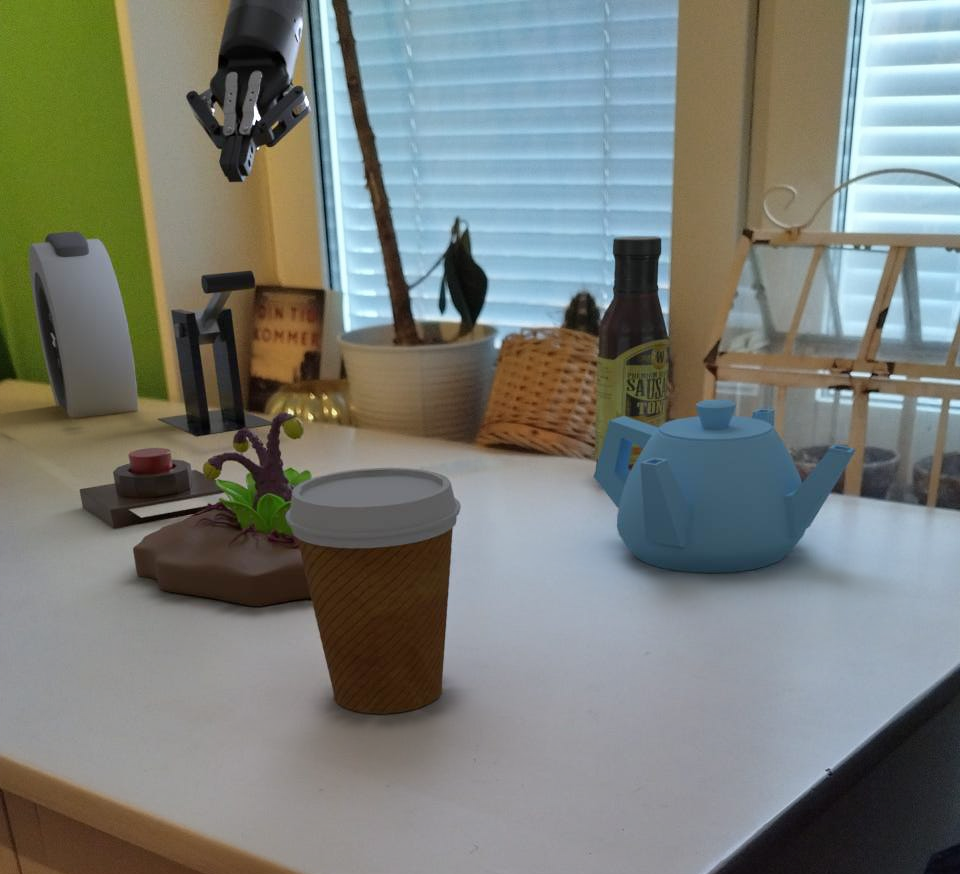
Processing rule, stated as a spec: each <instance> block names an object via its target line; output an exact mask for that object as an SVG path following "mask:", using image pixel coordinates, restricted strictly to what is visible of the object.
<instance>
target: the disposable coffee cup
mask: <svg viewBox="0 0 960 874" xmlns="http://www.w3.org/2000/svg"><path fill="white" fill-rule="evenodd" d="M461 507H462V505H461V503H460V501H459V499H457V498H456V497H455V495H454V490H453V485H452V482H451V480H450V479H449V478H448V477H447V476H445V475H443V474H442V473H439V472H435V471H430V470H427V469H421V468H409V467H408V468H406V467H370V468H359V469H358V468H357V469H350V470H349V469H348V470H342V471H336V472H332V473H327V474H323V475H319V476H314V477H311V479H309V480H306V481H304V482H302V483H300V484H298V485H297V486H296V487H295V488H294V489H293V490H292V497H291V507H290V509H289V510H288V511H287V513H286V516H285V517H286V521H287V523H288V524H289V525H290V526H291V528H292V532H293V534H294V536H295V537H297V540H298V544H299V548H300V553H301V557H302V562H303V566H304V569H305V574H306V578H307V583H308V587H309V590H310V596H311V598H310V599H311V603H312V608H313V611H314V612H313V613H314V616H315V621H316V625H317V629H318V633H319V637H320V640H321V647H322V650H323V654H324V658H325V663H326V667H327V671H328V675H329V679H330V683H331V687H332V692H333V697H334V700H335V702H336V703H337V704H338V705H340V706H341V707H343V708H346V709H347V710H350V711H353V712H354V711H355V712H359V713H365V714H379V715H380V714H384V715H385V714H393V713H395V714H396V713H403V712H407V711H411V710H416V709H419V708H421V707H424V706H426V705H429V704H431V703H432V702H434V701H435V700H437V699H438V698H439V697H440V695H441V694H442V691H443V677H444V661H445V660H444V659H445V647H446V632H447V620H448V605H449V604H448V602H449V589H450V575H451V563H452V562H451V561H452V545H453V530H454V527H455V526H456V523H457V519H458V517H457V516H459V514H460V511H461Z"/></svg>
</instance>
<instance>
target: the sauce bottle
mask: <svg viewBox="0 0 960 874" xmlns="http://www.w3.org/2000/svg"><path fill="white" fill-rule="evenodd" d="M612 241H613V243H612V255H613V258H614V273H613V276H614V280H613V287H612V290H613V298H612V300H611V301H610V302H609V303H610V304H609V305H608V307H607V308H606V310H605V311H604V314H603V316H602V317H601V320H600V325H599V330H598V354H597V356H596V394H595V397H596V398H595V423H594V424H595V426H594V427H595V430H594V458H595V459H596V462H595V463H596V465H595V468H596V467H597V463H598V460H599V456H600V453H601V449H602V446H603V442H604V439H605V435H606V432H607V429H608V425H609V422H610V420H613V419H616V418H619V417H622V416H626V417H629V418H632V419H634V420H637V421H640V422H643V423H646V424H649V425H652V426H655V427H660V426H661V425H662V424H664V423H666V422H667V404H668V388H669V387H668V386H669V363H670V343H671V342H670V341H671V340H670V337H669V334H668V331H667V326H666V322H665V317H664V314H663V309H662V305H661V301H660V297H659V284H658V282H659V262H660V257H661V255H662V238H661V237H660V236H655V235H654V236H650V235H649V236H646V235H645V236H641V235H640V236H618V237H614V238H613V239H612ZM643 449H644V448H642V447H640V446H638V445H636V444H634V443H633V445H632V450H631V455H630V460H629V465H628V469H629V470H630V471H631V470H632V468H633V466H634V464H635V462H636V460H637V459H638V457H639V455H640V454H641V452H642V450H643Z"/></svg>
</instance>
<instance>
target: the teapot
mask: <svg viewBox="0 0 960 874" xmlns="http://www.w3.org/2000/svg"><path fill="white" fill-rule="evenodd" d="M736 406H737V403H736V402H735V401H733V400H730V399H718V398H717V399H716V398H715V399H714V398H713V399H712V398H711V399H705V400H701V401H700V402H697V403H696V404H695V407H696V411H697V415H698V416H690V417H682V418H677V419H672V420H669V421H666V423H664V424H662V425H661V426H660V427H655V426H652V425H649V424H646V423H643V422H640V421H637V420H634V419H632V418H629V417H626V416H622V417H619V418H616V419H613V420H610V422H609V425H608V429H607V432H606V435H605V439H604V442H603V446H602V449H601V453H600V456H599V460H598V463H597V462H596V464H597V467H596V466H595V470H594V474H593V479H595V481H596V482H597V484H598V485H599V486H600V487H601V489H602V490H603V491H604V492H605V493H606V495H607V496H608V497H609V499H610V500H611V501H612V502H613V504H614V505H615V506H616V508H617V509H618V510H617V515H616V529H617V532H618V535H619V537H620V538H621V539H622V541H623V542H624V544H625V545H626V546H627V547H628V549H629V550H630V551H631V552H632V553H633V554H634V556H635V557H636V558H637V559H639V560H640V561H642V562H644V563H646V564H648V565H652V566H654V567H657V568H662V569H665V570H671V571H678V572H685V573H686V572H687V573H700V574H702V573H703V574H721V573H737V572H745V571H750V570H756V569H761V568H765V567H768V566H771V565H773V564H775V563H777V562H779V561H781V560H782V559H783V558H784V557H786V555H788V553H790V551H792V550H793V548H795V547H796V545H797V544H798V543H799V541H800V540H801V539H803V536H804V535H805V533H806V530H807V529H808V528H810V527H811V525H812V523H813V522H814V521H815V518H816V517H817V516H818V514H819V512H820V511H821V509H822V507H823V505H824V504H825V503H826V501H827V499H828V497H829V496H830V494H831V492H832V491H833V489H834V487H835V486H836V484H837V483H838V481H839V479H840V477H841V476H842V475H843V472H844V471H845V469H846V467H847V466H848V464H849V462H850V461H851V460H852V458H853V456H854V455H855V453H856V448H855V447H850V446H846V445H842V444H841V445H840V444H835V443H834V444H832V445H831V446H829V447H828V448H827V452H826V453H825V454H824V456H823V457H822V458H821V459H820V460H819V462H818V463H817V464H816V465H815V467H814V468H813V469H812V471H810V473H809V474H808V475H807V476H806V478H805V479H804V480H803V482H802V479H801V475H800V473H799V471H798V468H797V467H796V464H795V462H794V460H793V457H792V456H791V454H790V452H789V450H788V448H787V446H786V445H785V443H784V441H783V438H781V436H780V435H779V433H778V432H777V430H776V428H775V411H776V409H772V408H771V409H769V408H759V409H756V410H754V411H752V416H751V417H747V416H735V415H734V413H735V411H736ZM633 443H634V444H636V445H638V446H640V447H642V448H644V449H643V450H642V452H641V454H640V455H639V457H638V459H637V460H636V462H635V464H634V466H633V468H632V470H631V471H630V470H629V469H628V465H629V460H630V455H631V450H632V445H633Z"/></svg>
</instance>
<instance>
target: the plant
mask: <svg viewBox="0 0 960 874" xmlns="http://www.w3.org/2000/svg"><path fill="white" fill-rule="evenodd" d="M271 422H273V423H272V424H271V425H270V428H269V432H268V434H267V436H266V438H267V442H265V443H266V444H265V445H264V442H263V441H262V439H260V438H259V436H258V435H256V433H255V432H252V430H251V428H249V429H248V428H243V429H241V430H237V432H236V433H235V434H234V436H233V440H232V446H233V448H234V450H235V451H234V452H223V453H220V454H217V455H213V456H212V457H210V458H208V459H207V461H205V462H204V463H203V466H202V473H203V474H204V475H205V479H215V480H216V485H217V486H218V487H220V488H221V489H222V490H223V491H224V494H225V495H226V496H227V498H228V499H225V498H224V497H219V498H218V501H216V503H215V506H212V505H213V504H212V503H211V502H207V505H206V506H207V508H206V509H204V508H202V507H203V506H198V507H199V508H202V509H204V510H203V511H200V512H199V511H198V513H196V514H193V515H189V516H188V517H186V518H184V519H182V520H179V521H177V522H174V523H170V524H167V525H165V526H163V527H161V528H160V529H158V530H156V531H153V532H150V533H149V534H147V535H145V536H144V537H143V538H142V540H141V541H140V542H139V543H138V544H136V545H135V546H133V548H132V551H133V552H132V553H133V559H134V565H135V570H136V571H135V572H136V575H137V576H139V577H142V578H143V577H144V578H150V579H156V580H157V584H158V587H159V589H160V590H162V591H166V592H169V593H176V594H183V595H187V596H188V595H189V596H193V597H194V596H196V597H202V598H207V599H214V600H220V601H224V602H228V603H234V604H239V605H243V606H249V607H264V606H270V605H276V604H280V603H285V602H291V601H297V600H307V599H309V600H310V599H311V596H310V590H309V587H308V583H307V578H306V574H305V569H304V566H303V562H302V557H301V553H300V548H299V544H298V540H297V537H295V536H294V534H293V532H292V528H291V526H290V525H289V524H288V523H287V521H286V517H285V516H286V513H287V511H288V510H289V509H290V507H291V497H292V490H293V489H294V488H295V487H296V486H297V485H298V484H300V483H302V482H304V481H306V480H309V479H312V472H311V470H310V469H305V470H303V471H301V472H299V471H298V470H297V469H296V468H294V467H291V466H289V467H288V468H286V469H284V468H283V467H284V461H283V459H282V458H281V457H282V451H281V450H280V443H281V441H280V440H281V439H280V434H281V427H282V430H283V432H284V434H285V435H286V437H288V438H290V439H292V440H298V439H299V440H300V439H301V437H302V436H303V435H304V433H305V429H304V424H303V423H302V421H301V419H300V418H298V417H297V416H296V414H295V415H294V414H292V413H288V412H286V411H285V412H279V413H278V414H277V415H276V416H275V417H273V418H272V421H271ZM250 443H251V447H252V449H254V450H255V453H256V455H257V458H258V461H259V464H257V463H256V462H254V461H252V459H251V458H250V457H247V456H246V455H244V453H246V452H248V450H249V448H250ZM229 461H233V462H237V463H238V464H240V465H242V467H244V468H245V469H246V470H247V471H248V473H247V474H246V475H245V482H246V485H247V487H245V486H243V485H241V484H239V483H238V482H234V481H231V480H223V479H220V478H219V477H220V476H221V474H222V471H223V465H224V463H225V462H229ZM209 505H210V506H209Z"/></svg>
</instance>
